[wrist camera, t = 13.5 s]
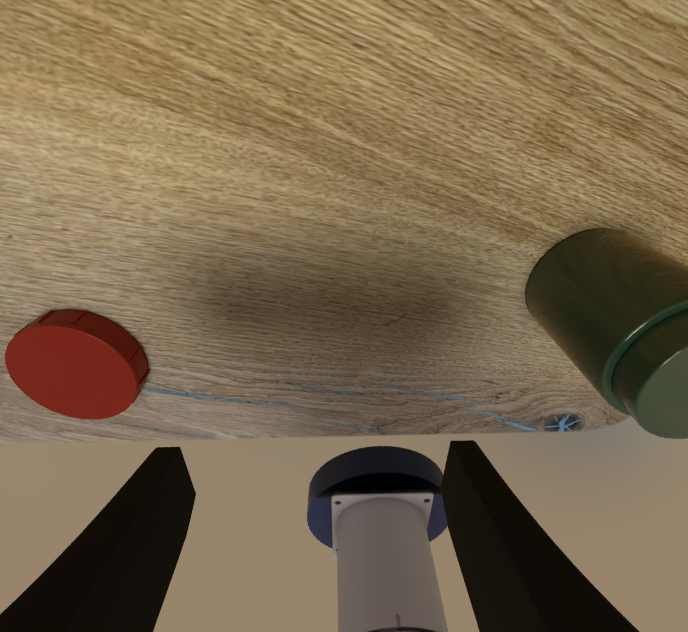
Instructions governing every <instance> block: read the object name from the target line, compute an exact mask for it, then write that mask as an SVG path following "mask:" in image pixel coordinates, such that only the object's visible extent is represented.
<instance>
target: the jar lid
mask: <svg viewBox="0 0 688 632" xmlns="http://www.w3.org/2000/svg"><path fill="white" fill-rule="evenodd" d="M5 362H6V366H7V370H8V372H9V374H10V376H11V378H12V379H13V381H14V382H15V384H16V385H17V386H18V387H19V388H20V389H21V390H22V391H23V392H24V393H25V394H26V395H27V396H28V397H30V398H31V399H32V400H34V401H35V402H37V403H38V404H40V405H42V406H44V407H45V408H47V409H50V410H52V411H54V412H57V413H59V414H62V415H66V416H69V417H74V418H80V419H103V418H109V417H112V416H115V415H118V414H120V413H121V412H123V411H125V410H126V409H127V408H128V407H129V406H130V405H131V404H133V403H134V401H135V400H136V398H137V396H138V395H139V393H140V392H141V388H142V387H143V385H144V383H145V381H146V378H147V375H148V374H149V371H148V364H147V361H146V358H145V354H144V352H143V351H142V347H140V346H139V344H138V343H137V342H136V340H135V339H134V338H133V337H131V336H130V335H129V334H128V333H127V332H126V331H125V330H124V329H122V328H121V327H119V325H118V324H117V325H116V324H115V323H113V322H111V321H109V320H107V319H105V318H102V317H100V316H97V315H95V314H91V313H86V311H83V312H82V311H73V310H61V311H56V312H53V311H49V312H48V313H47V314H45V315H43V316H41V317H39V318H37V319H36V320H35V321H33V322H32V323H31V324H28V325H27V326H25V327H24V328H23V329H21V330H20V331H19V332H18V333H16V334H15V335H14V338H13V339H12V340H11V341H10V343H9V344H8V346H7V349H6V353H5Z"/></svg>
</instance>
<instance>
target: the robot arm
mask: <svg viewBox="0 0 688 632" xmlns="http://www.w3.org/2000/svg"><path fill="white" fill-rule="evenodd" d="M441 493H442V498H443V504H444V509H445V514H446V519H447V524H448V529H449V532H450V535H451V539H452V542H453V545H454V549H455V552H456V555H457V558H458V562H459V565H460V568H461V572H462V575H463V578H464V582H465V584H466V588H467V591H468V595H469V598H470V601H471V604H472V608H473V611H474V614H475V617H476V620H477V624H478V628H479V631H480V632H639V631H638V630H637V629H636V628H635V627H634V626H633V625H632V624H631V623H630V622H629V621H628V620H627V619H626V618H625V617H624V616H623V615H622V614H621V613H620V612H619V611H618V610H617V609H616V608H615V607H614V606H613V605H612V604H611V603H610V602H609V601H608V600H607V599H606V598H605V597H604V596H603V595H602V594H601V593H600V592H599V591H598V590H597V589H596V588H595V587H594V586H593V585H592V584H591V583H590V581H589V580H588V579H587V578H586V577H585V576H584V575H583V574H582V573H581V572H580V571H579V570H578V569H577V567H576V566H575V565H574V564H573V563H572V562H571V561H570V560H569V559H568V558H567V556H566V555H565V554H564V553H563V552H562V551H561V550H560V549H559V547H558V546H557V545H556V544H555V543H554V542H553V540H552V539H551V538H550V537H549V536H548V535H547V534H546V532H545V531H544V530H543V529H542V528H541V526H540V525H539V524H538V523H537V521H536V520H535V519H534V518H533V517H532V516H531V514H530V513H529V512H528V510H527V509H526V508H525V507H524V506H523V504H522V503H521V502H520V501H519V499H518V498H517V497H516V496H515V494H514V493H513V492H512V490H511V489H510V488H509V487H508V485H507V484H506V483H505V481H504V480H503V479H502V477H501V476H500V475H499V473H498V472H497V471H496V469H495V468H494V467H493V465H492V464H491V463H490V461H489V460H488V459H487V457H486V456H485V454H484V453H483V452H482V450H481V449H480V447H479V446H478V445H477V443H476V442H475V441H473V440H471V441H451V443H450V447H449V452H448V456H447V461H446V465H445V470H444V475H443V479H442V484H441ZM195 496H196V493H195V490H194V487H193V484H192V481H191V478H190V475H189V472H188V469H187V466H186V463H185V461H184V458H183V455H182V452H181V449H180V447H158V448H156V449H155V450H154V451H153V452H152V453H151V454H150V455H149V456H148V457H147V459H146V460H145V461H144V462H143V463H142V465H141V466H140V467H139V468H138V469H137V470H136V471H135V473H134V474H133V475H132V476H131V477H130V478H129V480H128V481H127V482H126V483H125V484H124V485H123V487H122V488H121V489H120V490H119V491H118V492H117V494H116V495H115V496H114V497H113V498H112V499H111V500H110V502H109V503H108V504H107V505H106V506H105V507H104V508H103V509H102V511H101V512H100V513H99V514H98V515H97V516H96V517H95V518H94V520H92V522H91V523H90V524H89V525H88V526H87V527H86V528H85V529H84V530H83V532H82V533H81V534H80V535H79V536H78V537H77V538H76V539H75V540H74V541H73V542H72V543H71V544H70V545H69V546H68V547H67V548H66V549H65V551H64V552H63V553H62V554H61V555H60V556H59V557H58V558H57V559H56V560H55V561H54V562H53V563H52V564H51V565H50V566H49V567H48V568H47V569H46V570H45V571H44V573H42V574H41V575H40V576H39V577H38V579H36V580H35V581H34V582H33V583H32V584H31V585H30V586H29V587H28V588H27V589H26V590H25V591H24V592H23V593H22V594H21V595H20V596H19V597H18V598H17V599H16V600H15V601H14V602H13V603H12V604H11V605H10V606H9V607H8V608H7V609H5V610H4V611H3V612H2V613H1V614H0V632H153V630H154V627H155V624H156V621H157V618H158V616H159V613H160V610H161V607H162V604H163V601H164V598H165V596H166V593H167V590H168V587H169V584H170V581H171V579H172V576H173V573H174V570H175V567H176V564H177V561H178V559H179V556H180V553H181V550H182V547H183V543H184V541H185V538H186V535H187V531H188V526H189V523H190V519H191V514H192V510H193V505H194V501H195ZM433 497H434V494H433V491H432V490H430V489H397V490H356V491H335V492H333V493H332V495H331V502H332V540H333V557H334V558H337V565H338V566H337V569H338V570H337V572H338V632H448V628H447V624H446V619H445V615H444V609H443V605H442V600H441V595H440V591H439V586H438V581H437V577H436V572H435V567H434V562H433V558H432V554H431V549H430V544H429V539H428V534H427V526H428V521H429V517H430V512H431V507H432V502H433Z"/></svg>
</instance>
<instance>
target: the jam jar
mask: <svg viewBox="0 0 688 632" xmlns="http://www.w3.org/2000/svg"><path fill="white" fill-rule="evenodd" d="M526 301H527V306H528V309H529V311H530V313H531V315H532V316H533V317H534V319H535V320H536V321H537V322H538V323H539V324H540V325H541V327H542V328H543V329H544V330H545V331H546V332H547V334H548V335H549V336H550V337H551V338H552V339H553V340H554V342H555V343H556V344H557V345H558V346H559V347H560V349H561V350H562V351H563V352H564V353H565V354H566V355H567V357H568V358H569V359H570V360H571V361H572V362H573V364H574V365H575V366H576V367H577V368H578V369H579V370H580V372H581V373H582V374H583V375H584V376H585V377H586V378H587V380H588V381H589V382H590V383H591V384H592V385H593V387H594V388H595V389H596V390H597V391H598V392H599V393H600V395H601V396H602V397H603V398H604V399H605V400H606V402H607V403H608V404H609V405H610V406H612V407H613V408H614V409H616V410H618V411H619V412H621V413H624V414H627V415H630V416H632V417H633V418H634V419H635V420H636V421H637V422H638V423H639V425H640V426H641V427H643V429H645V430H646V431H648V432H650V433H651V434H654V435H657V436H660V437H664V438H672V439H685V438H688V266H687V265H685V264H684V263H682V262H680V261H678V260H676V259H674V258H672V257H670V256H668V255H666V254H664V253H662V252H660V251H658V250H656V249H654V248H652V247H650V246H648V245H646V244H644V243H642V242H640V241H638V240H636V239H634V238H632V237H630V236H628V235H626V234H624V233H622V232H619V231H616V230H610V229H598V230H590V231H586V232H582V233H579V234H576V235H574V236H572V237H570V238H568V239H566V240H564V241H562V242H561V243H559V244H558V245H556V246H555V247H554V248H552V249H551V250H550V251H549V252H548V253H547V254H546V255H545V256H544V257H543V258H542V259H541V260H540V262H539V263H538V264H537V266H536V267H535V269H534V270H533V272H532V274H531V276H530V279H529V282H528V285H527V290H526Z"/></svg>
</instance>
